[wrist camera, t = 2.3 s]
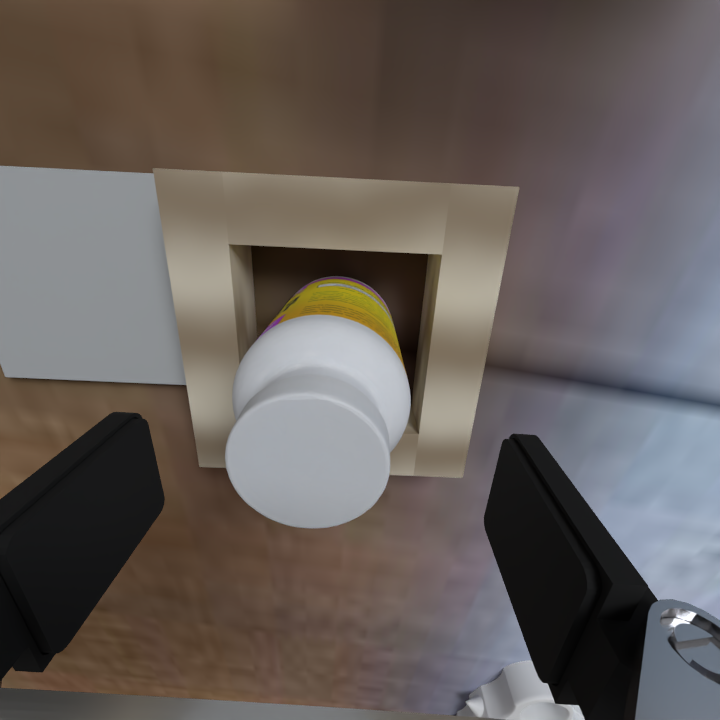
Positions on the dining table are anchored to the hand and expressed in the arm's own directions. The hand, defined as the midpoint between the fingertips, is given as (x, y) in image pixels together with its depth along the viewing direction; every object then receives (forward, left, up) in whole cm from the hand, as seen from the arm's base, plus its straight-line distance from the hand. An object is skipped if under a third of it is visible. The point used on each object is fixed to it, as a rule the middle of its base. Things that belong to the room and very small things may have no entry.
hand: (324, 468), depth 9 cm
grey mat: (+2, +16, -13) cm, 20 cm away
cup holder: (0, +1, -13) cm, 13 cm away
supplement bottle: (0, +1, -13) cm, 13 cm away
